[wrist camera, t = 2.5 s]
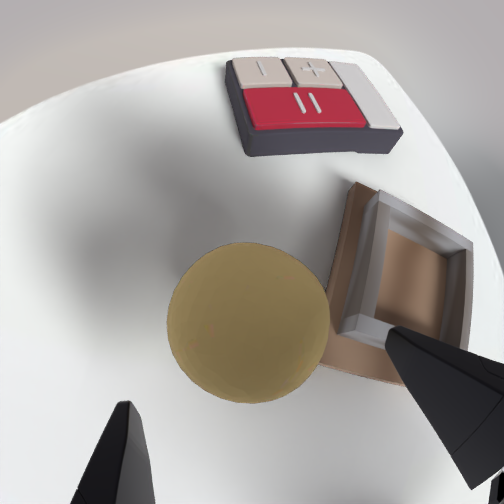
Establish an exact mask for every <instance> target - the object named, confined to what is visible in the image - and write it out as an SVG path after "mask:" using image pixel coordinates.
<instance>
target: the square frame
mask: <svg viewBox="0 0 504 504" xmlns="http://www.w3.org/2000/svg"><path fill="white" fill-rule="evenodd" d="M325 294H326V297H327V300H328V304H329V310H330V325H329V333H328V340H327V343H326V347H325V350H324V353H323V355H322V357H321V359H320V361H319V363H318V365H322V366H325V367H329V368H332V369H336V370H339V371H343V372H347V373H350V374H354V375H358V376H362V377H366V378H370V379H374V380H378V381H382V382H386V383H391V384H395V385H399V386H404V387H406V386H405V384H404V383H403V381H402V380H401V378H400V376H399V374H398V372H397V370H396V369H395V367H394V365H393V363H392V361H391V359H390V357H389V356H388V354H387V352H386V350H385V341H386V338H387V334H388V331H389V329H390V328H392V327H394V326H397V325H400V326H403V327H406V328H408V329H411V330H414V331H416V332H419V333H421V334H424V335H426V336H429V337H432V338H434V339H437V340H439V341H442V342H445V343H447V344H450V345H453V346H455V347H458V348H460V349H463V350H466V351H467V350H468V343H469V335H470V326H471V315H472V301H473V242H471V241H470V240H468V239H467V238H465V237H463V236H462V235H460V234H459V233H457V232H455V231H454V230H452V229H451V228H449V227H447V226H446V225H444V224H442V223H441V222H439V221H437V220H436V219H434V218H432V217H430V216H429V215H427V214H425V213H423V212H422V211H420V210H418V209H416V208H414V207H413V206H411V205H409V204H407V203H405V202H403V201H401V200H400V199H398V198H396V197H394V196H392V195H390V194H388V193H386V192H384V191H382V190H379V191H378V192H377V191H375V190H373V189H371V188H369V187H367V186H365V185H363V184H360V183H358V182H355V184H354V185H353V186H352V187H351V189H350V190H349V191H348V197H347V202H346V207H345V212H344V217H343V221H342V226H341V231H340V235H339V240H338V244H337V248H336V253H335V257H334V261H333V265H332V269H331V273H330V277H329V281H328V285H327V289H326V292H325Z"/></svg>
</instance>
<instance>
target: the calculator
mask: <svg viewBox="0 0 504 504" xmlns="http://www.w3.org/2000/svg"><path fill="white" fill-rule="evenodd" d="M225 83H226V86H227V90H228V93H229V97H230V101H231V104H232V108H233V111H234V115H235V118H236V122H237V126H238V129H239V133H240V137H241V140H242V144H243V148H244V151H245V154H246V155H247V156H250V157H256V156H271V155H288V154H306V153H323V152H348V151H355V152H357V153H372V154H388V153H389V152H390V151H391V150H392V148H393V147H394V146H395V144H396V143H397V141H398V140H399V139H400V137H401V136H402V135H403V130H402V128H401V126H400V125H399V123H398V121H397V120H396V118H395V117H394V115H393V114H392V112H391V111H390V109H389V108H388V106H387V105H386V103H385V102H384V100H383V99H382V97H381V96H380V94H379V93H378V91H377V90H376V89H375V87H374V86H373V85H372V83H371V82H370V80H369V79H368V78H367V76H366V75H365V74H364V72H363V71H362V70H361V69H360V67H359V66H358V65H356V64H350V63H341V62H332V61H331V62H327V61H326V60H324V59H312V58H293V57H285V58H284V59H279V58H278V57H244V58H233V59H232V60H230V61H227V62H226V76H225Z"/></svg>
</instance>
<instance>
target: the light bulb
mask: <svg viewBox="0 0 504 504" xmlns="http://www.w3.org/2000/svg"><path fill="white" fill-rule="evenodd" d="M329 325H330V310H329V304H328V300H327V297H326V294H325V292H324V289H323V287H322V285H321V284H320V282H319V281H318V279H317V277H316V276H315V275H314V274H313V273H312V272H311V271H310V270H309V269H308V268H307V267H306V266H305V265H304V264H302V263H301V262H300V261H299V260H297V259H295V258H294V257H292V256H290V255H289V254H287V253H285V252H284V251H281V250H279V249H276V248H274V247H270V246H266V245H262V244H257V243H233V244H229V245H225V246H221V247H219V248H217V249H215V250H213V251H211V252H209V253H207V254H205V255H204V256H203V257H201V258H200V259H199V260H197V261H196V262H195V263H194V264H193V265H192V266H191V267H190V268H189V269H188V271H187V272H186V273H185V274H184V275H183V277H182V278H181V280H180V282H179V283H178V285H177V287H176V288H175V290H174V293H173V295H172V298H171V301H170V304H169V309H168V316H167V332H168V340H169V344H170V347H171V350H172V353H173V355H174V357H175V359H176V361H177V363H178V364H179V366H180V368H181V369H182V370H183V371H184V372H185V374H186V375H187V376H188V377H189V378H190V379H191V380H192V381H193V382H194V383H195V384H197V385H198V386H199V387H201V388H202V389H203V390H205V391H207V392H209V393H211V394H213V395H215V396H217V397H219V398H222V399H225V400H229V401H233V402H237V403H260V402H267V401H272V400H275V399H278V398H280V397H283V396H285V395H287V394H289V393H290V392H292V391H293V390H295V389H296V388H298V387H299V386H300V385H301V384H302V383H303V382H304V381H305V380H306V379H307V378H308V377H309V376H310V375H311V373H312V372H313V371H314V370H315V368H316V367H317V365H318V363H319V361H320V359H321V357H322V355H323V353H324V350H325V347H326V343H327V340H328V333H329Z"/></svg>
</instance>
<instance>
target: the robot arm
mask: <svg viewBox="0 0 504 504" xmlns="http://www.w3.org/2000/svg"><path fill="white" fill-rule="evenodd" d="M385 350H386V352H387V354H388V356H389V357H390V359H391V361H392V363H393V365H394V367H395V369H396V370H397V372H398V374H399V376H400V378H401V380H402V381H403V383H404V384H405V386H406V387H407V389H408V390H409V392H410V393H411V395H412V396H413V398H414V399H415V401H416V402H417V404H418V405H419V407H420V408H421V410H422V411H423V413H424V414H425V416H426V418H427V419H428V421H429V422H430V424H431V425H432V427H433V428H434V430H435V432H436V433H437V435H438V436H439V438H440V439H441V441H442V443H443V444H444V446H445V447H446V449H447V451H448V452H449V454H450V455H451V458H452V459H453V461H454V462H455V464H456V466H457V467H458V469H459V471H460V473H461V474H462V476H463V478H464V479H465V481H466V483H467V485H468V486H469V488H470V489H471V490H473V489H474V488H476V487H477V486H478V485H480V484H481V483H483V482H484V481H486V480H487V479H488V478H490V477H491V476H492V475H494V474H495V473H496V472H498V471H499V470H500V469H501V471H500V472H499V473H498V474H497V475H496V476H495V477H494V478H493V480H492V481H491V489H490V496H489V503H488V504H504V364H503V363H499V362H496V361H493V360H490V359H487V358H484V357H482V356H478V355H476V354H474V353H471V352H468V351H466V350H463V349H460V348H458V347H455V346H453V345H450V344H447V343H445V342H442V341H439V340H437V339H434V338H432V337H429V336H426V335H424V334H421V333H419V332H416V331H414V330H411V329H408V328H406V327H403V326H400V325H397V326H394V327H392V328H390V329H389V331H388V334H387V338H386V341H385ZM70 504H155V497H154V490H153V483H152V474H151V466H150V459H149V454H148V450H147V445H146V441H145V436H144V431H143V425H142V420H141V417H140V414H139V413H138V411H137V410H136V408H135V407H134V405H133V403H132V402H131V401H120V402H118V403H117V405H116V407H115V409H114V411H113V413H112V415H111V417H110V419H109V421H108V423H107V425H106V427H105V429H104V431H103V433H102V435H101V437H100V439H99V441H98V443H97V446H96V448H95V450H94V452H93V454H92V456H91V458H90V460H89V463H88V465H87V467H86V469H85V471H84V474H83V476H82V478H81V480H80V483H79V485H78V489H76V492H75V494H74V496H73V498H72V501H71V503H70Z"/></svg>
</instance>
